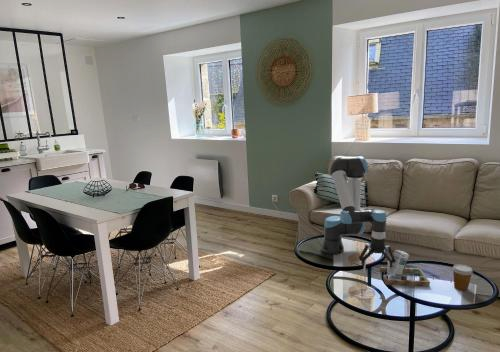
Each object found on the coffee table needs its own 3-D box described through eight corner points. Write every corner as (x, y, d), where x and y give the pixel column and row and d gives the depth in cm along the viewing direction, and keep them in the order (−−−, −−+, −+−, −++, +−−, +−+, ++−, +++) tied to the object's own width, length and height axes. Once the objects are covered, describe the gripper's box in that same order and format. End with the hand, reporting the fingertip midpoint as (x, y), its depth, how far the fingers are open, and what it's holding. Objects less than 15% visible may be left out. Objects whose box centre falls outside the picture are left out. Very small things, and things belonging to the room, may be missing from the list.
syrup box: (393, 276, 209) (402, 252, 208) (387, 272, 215) (395, 249, 214) (401, 278, 211) (409, 254, 210) (394, 273, 217) (402, 250, 216)
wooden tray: (385, 285, 204) (386, 280, 203) (379, 271, 220) (379, 266, 219) (429, 287, 201) (429, 281, 200) (419, 273, 217) (420, 268, 216)
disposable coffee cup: (464, 283, 203) (466, 263, 201) (475, 292, 194) (477, 271, 192) (447, 284, 203) (449, 264, 201) (457, 293, 194) (459, 272, 191)
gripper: (356, 238, 208) (355, 273, 212) (402, 240, 204) (400, 276, 208) (354, 234, 215) (353, 268, 219) (399, 235, 212) (397, 270, 216)
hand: (376, 272), depth 214 cm, fingers open, 13 cm apart
